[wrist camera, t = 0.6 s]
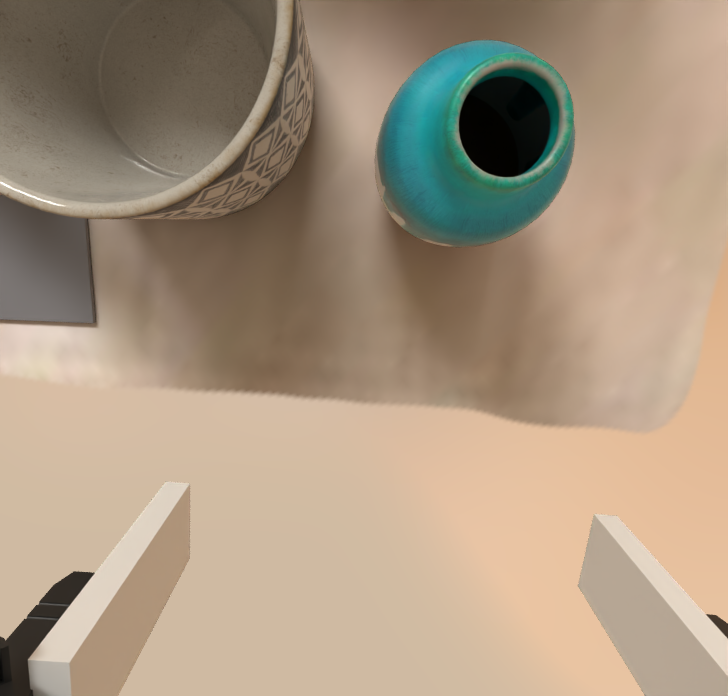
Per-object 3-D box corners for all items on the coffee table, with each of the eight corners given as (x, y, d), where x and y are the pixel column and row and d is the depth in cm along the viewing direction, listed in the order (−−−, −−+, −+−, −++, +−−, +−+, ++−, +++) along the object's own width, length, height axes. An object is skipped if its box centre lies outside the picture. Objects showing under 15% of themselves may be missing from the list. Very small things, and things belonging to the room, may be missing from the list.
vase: (404, 265, 40) (443, 293, 22) (349, 141, 38) (339, 52, 19) (524, 209, 39) (673, 187, 21) (475, 78, 37) (591, -79, 18)
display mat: (-42, 192, 39) (-46, 192, 38) (85, 198, 39) (82, 198, 38) (-25, 317, 41) (-28, 318, 41) (95, 322, 41) (93, 323, 41)
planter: (97, 234, 39) (-83, 234, 23) (42, -39, 35) (-225, -268, 19) (333, 214, 39) (314, 201, 23) (307, -63, 35) (263, -314, 19)
